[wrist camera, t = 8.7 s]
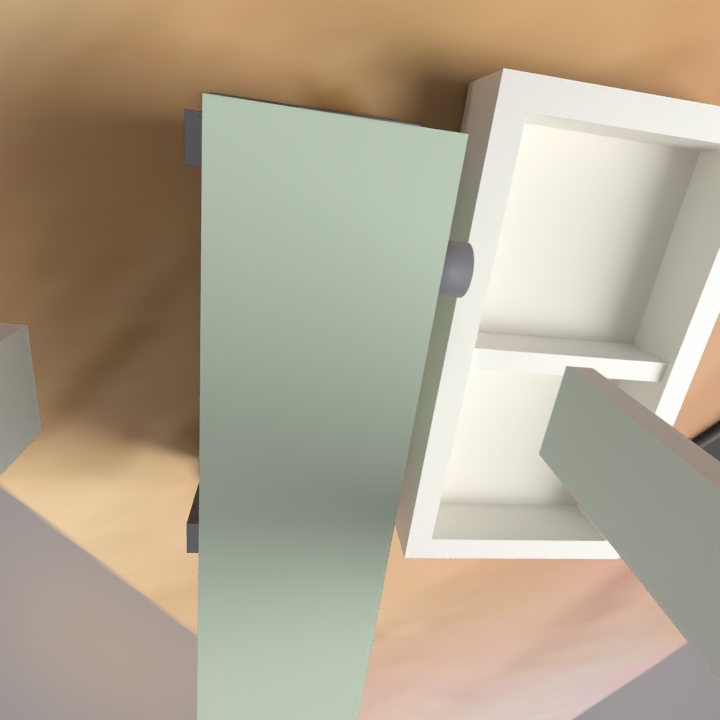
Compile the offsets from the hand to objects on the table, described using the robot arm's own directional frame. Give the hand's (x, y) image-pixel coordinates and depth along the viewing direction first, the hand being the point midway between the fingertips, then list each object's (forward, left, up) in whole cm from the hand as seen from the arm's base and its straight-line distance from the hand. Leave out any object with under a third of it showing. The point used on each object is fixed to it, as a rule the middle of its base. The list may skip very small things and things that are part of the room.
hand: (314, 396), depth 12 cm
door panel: (+1, 0, -7) cm, 7 cm away
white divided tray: (0, +10, -7) cm, 12 cm away
